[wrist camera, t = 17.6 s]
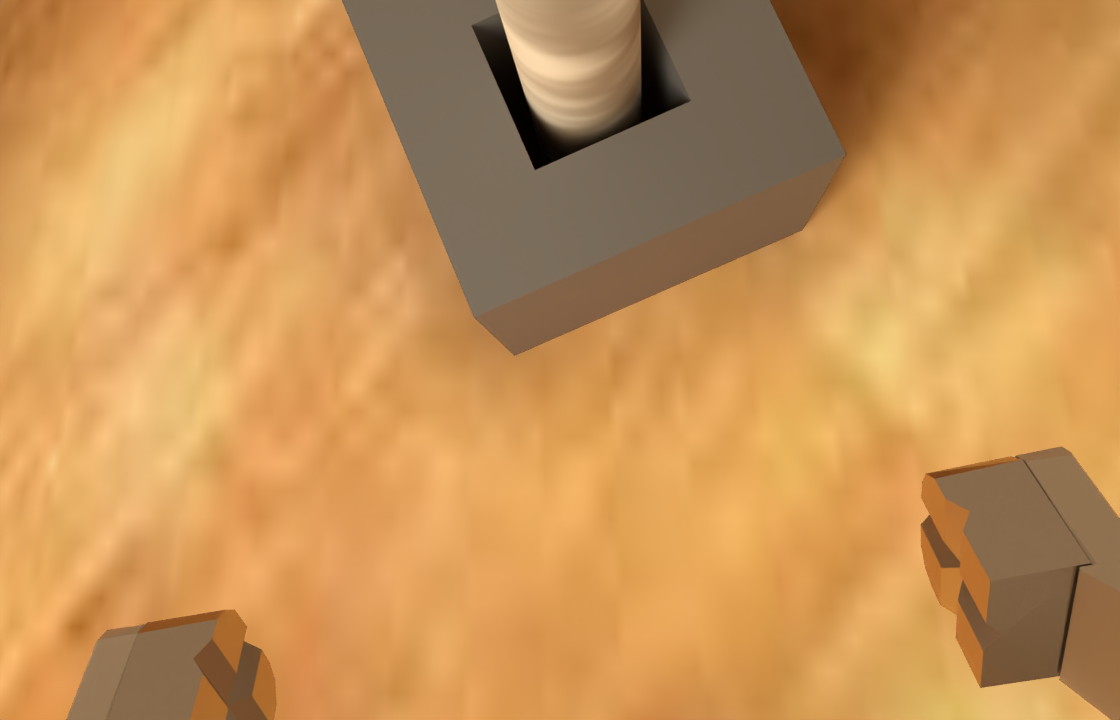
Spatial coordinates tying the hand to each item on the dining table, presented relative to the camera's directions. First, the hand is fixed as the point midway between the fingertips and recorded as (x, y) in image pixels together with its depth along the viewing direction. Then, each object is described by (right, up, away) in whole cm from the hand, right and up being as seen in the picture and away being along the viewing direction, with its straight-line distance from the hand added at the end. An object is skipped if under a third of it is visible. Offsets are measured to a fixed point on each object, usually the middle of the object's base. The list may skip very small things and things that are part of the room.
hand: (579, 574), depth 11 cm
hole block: (+1, +12, +33) cm, 35 cm away
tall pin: (+1, +12, +33) cm, 35 cm away
